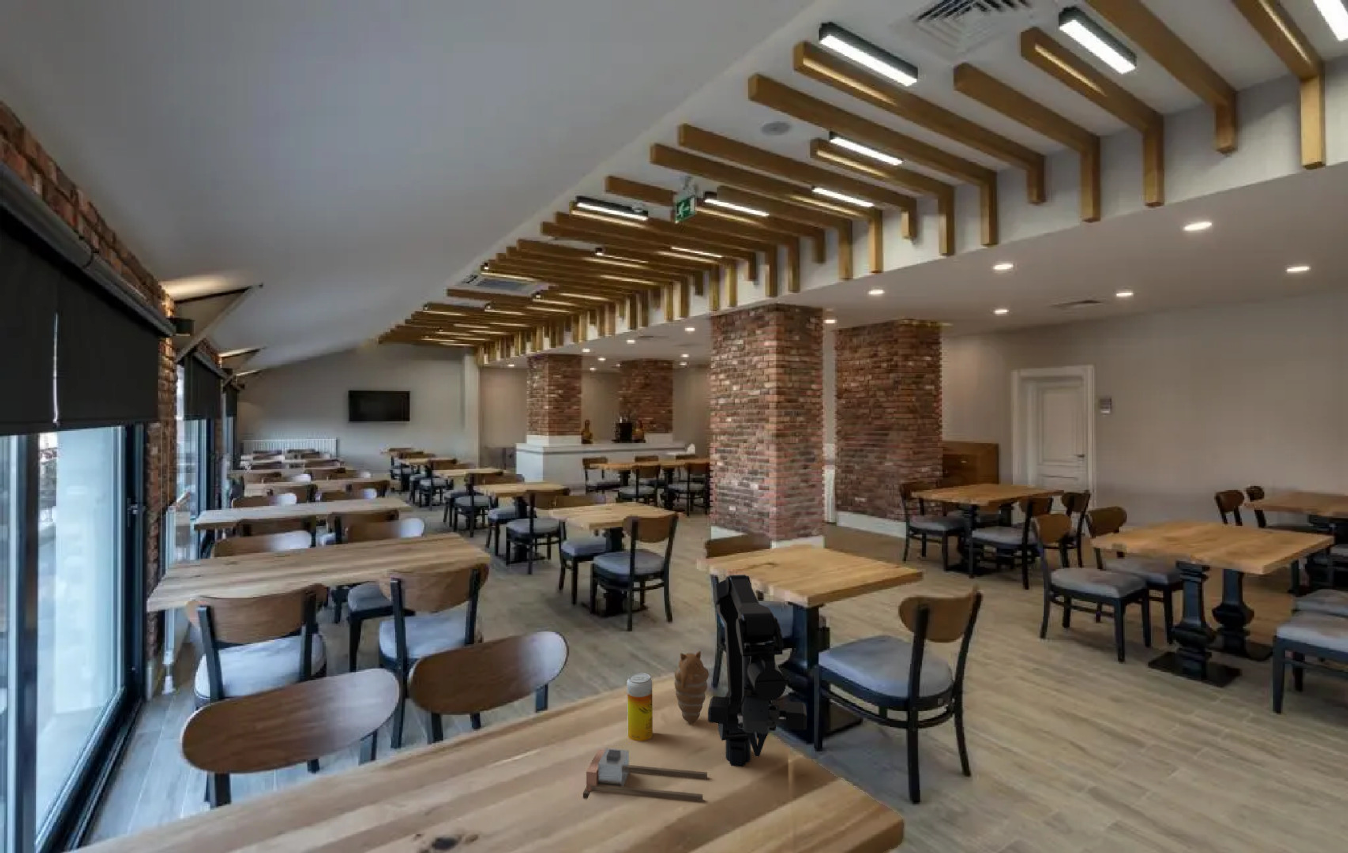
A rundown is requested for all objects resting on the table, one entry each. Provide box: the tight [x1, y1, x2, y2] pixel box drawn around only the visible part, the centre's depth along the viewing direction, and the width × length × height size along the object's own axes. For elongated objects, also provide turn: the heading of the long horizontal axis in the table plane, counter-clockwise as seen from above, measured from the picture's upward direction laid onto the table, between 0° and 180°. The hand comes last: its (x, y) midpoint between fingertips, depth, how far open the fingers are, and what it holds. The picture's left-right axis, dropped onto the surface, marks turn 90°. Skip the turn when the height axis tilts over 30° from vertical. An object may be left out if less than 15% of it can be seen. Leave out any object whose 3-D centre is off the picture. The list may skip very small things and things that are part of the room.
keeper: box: [598, 748, 630, 787], centre depth 132 cm, size 6×5×6 cm
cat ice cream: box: [674, 650, 710, 723], centre depth 158 cm, size 9×8×18 cm
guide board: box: [582, 749, 708, 803], centre depth 131 cm, size 10×25×5 cm, turn 80°
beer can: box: [626, 672, 654, 742], centre depth 150 cm, size 6×6×15 cm
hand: (757, 755), depth 121 cm, fingers closed
